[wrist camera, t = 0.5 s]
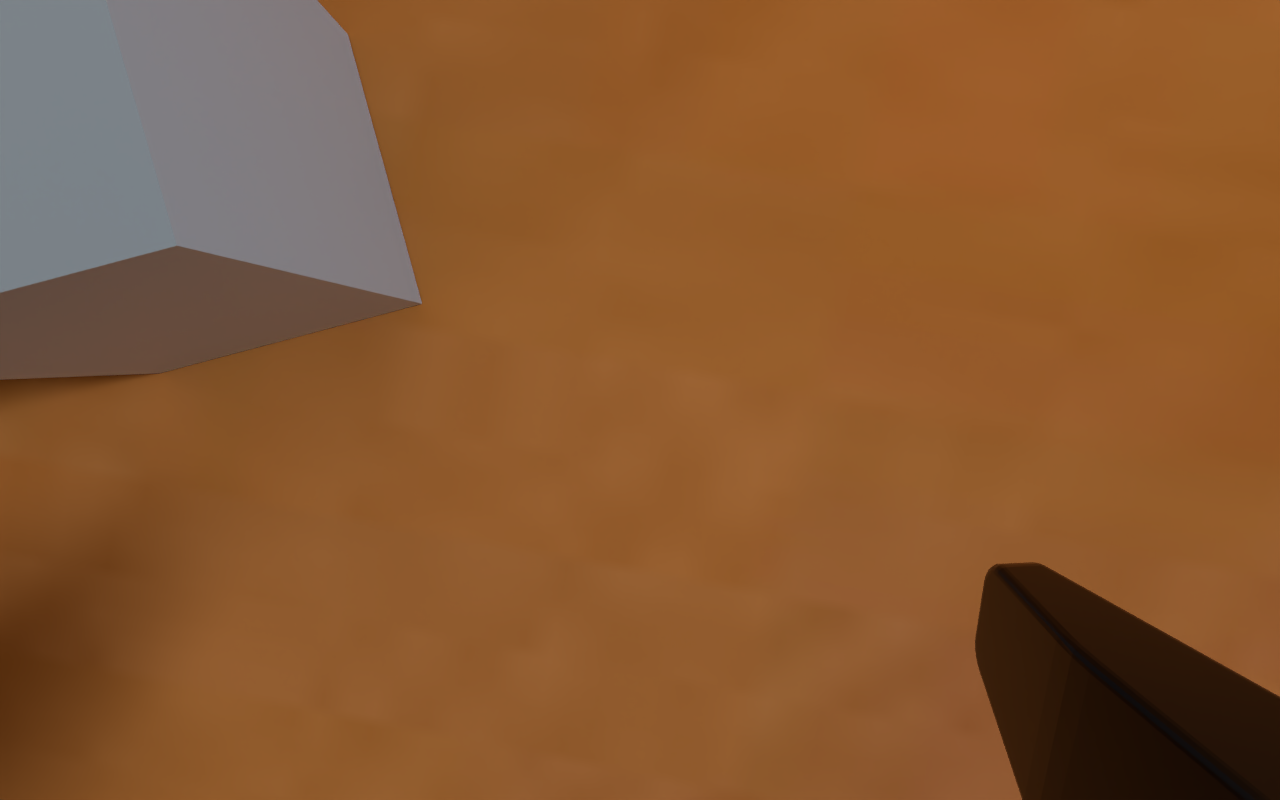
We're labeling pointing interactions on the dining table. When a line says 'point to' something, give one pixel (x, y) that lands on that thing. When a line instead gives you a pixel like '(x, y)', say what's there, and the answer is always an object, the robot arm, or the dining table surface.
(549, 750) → the dining table surface
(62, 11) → the tall grey-blue carton
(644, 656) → the dining table surface
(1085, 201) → the dining table surface
